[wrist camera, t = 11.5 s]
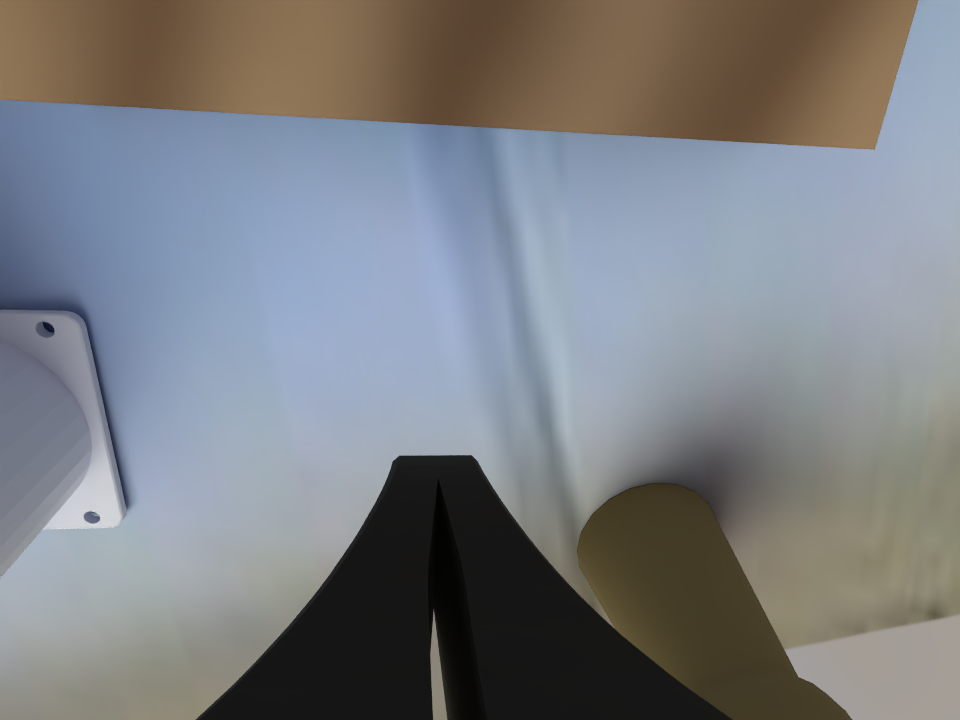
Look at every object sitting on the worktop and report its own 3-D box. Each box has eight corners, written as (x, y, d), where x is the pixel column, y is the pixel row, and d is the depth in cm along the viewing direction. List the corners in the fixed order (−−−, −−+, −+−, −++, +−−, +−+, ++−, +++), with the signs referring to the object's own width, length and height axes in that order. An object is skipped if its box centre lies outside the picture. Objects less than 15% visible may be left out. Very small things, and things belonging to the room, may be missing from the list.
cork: (548, 566, 25) (645, 883, 15) (638, 459, 23) (817, 733, 13) (654, 615, 26) (804, 926, 16) (744, 519, 25) (973, 800, 15)
